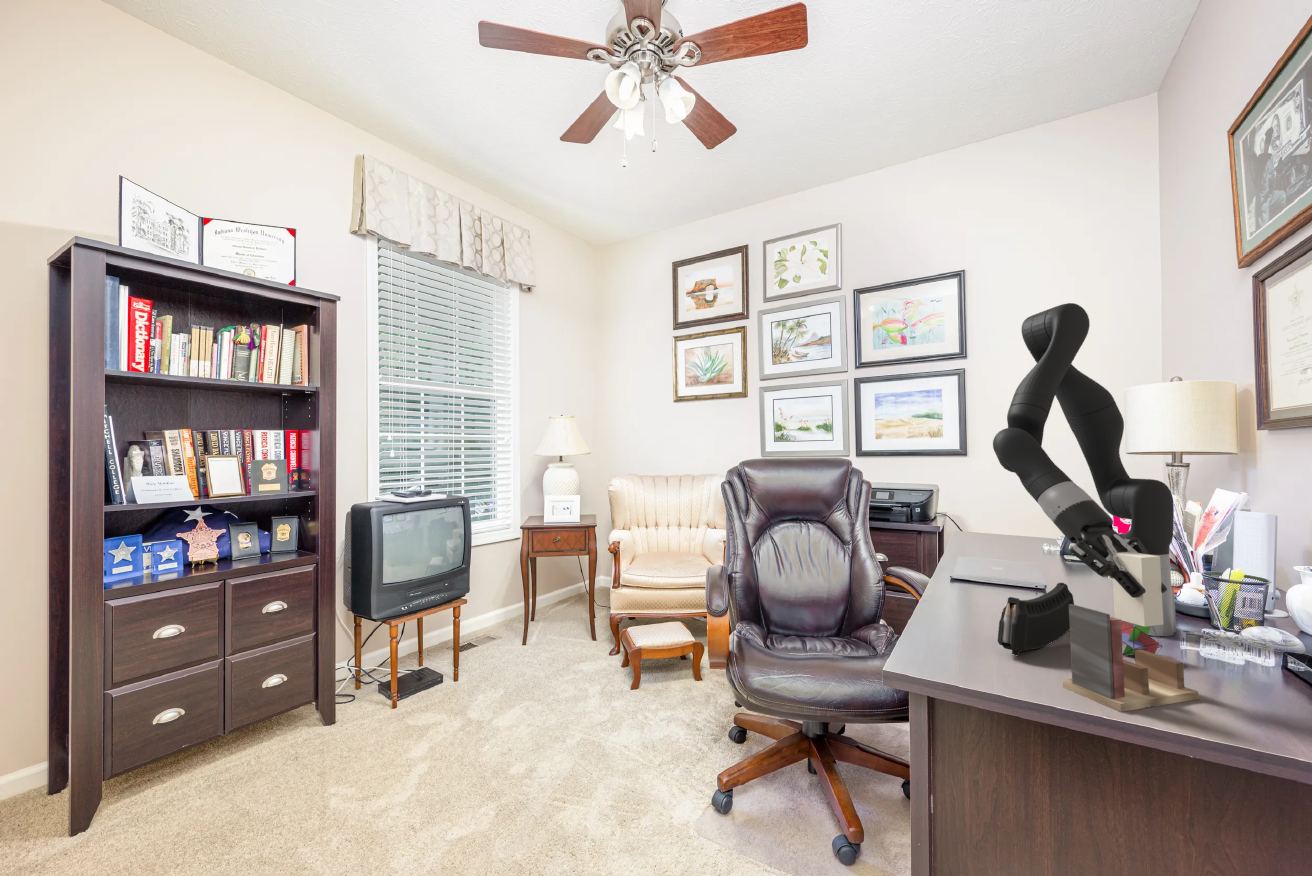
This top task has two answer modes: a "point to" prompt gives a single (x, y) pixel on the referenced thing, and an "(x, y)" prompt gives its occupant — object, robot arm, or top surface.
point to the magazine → (1035, 620)
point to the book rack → (1119, 666)
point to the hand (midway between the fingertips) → (1150, 593)
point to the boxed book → (1148, 604)
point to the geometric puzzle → (1138, 639)
